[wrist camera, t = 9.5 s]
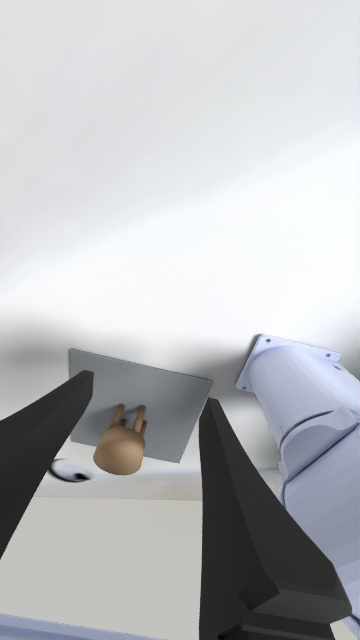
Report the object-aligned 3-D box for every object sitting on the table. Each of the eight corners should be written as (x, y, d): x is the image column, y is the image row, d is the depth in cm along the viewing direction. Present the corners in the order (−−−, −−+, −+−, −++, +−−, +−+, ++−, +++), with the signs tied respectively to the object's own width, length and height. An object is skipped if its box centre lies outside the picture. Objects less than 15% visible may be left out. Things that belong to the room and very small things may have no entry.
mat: (211, 380, 23) (211, 382, 23) (179, 460, 30) (179, 463, 30) (71, 348, 22) (69, 350, 22) (72, 438, 29) (70, 441, 29)
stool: (150, 401, 24) (139, 448, 19) (152, 428, 27) (142, 476, 21) (111, 399, 25) (89, 444, 19) (116, 425, 27) (97, 473, 21)
